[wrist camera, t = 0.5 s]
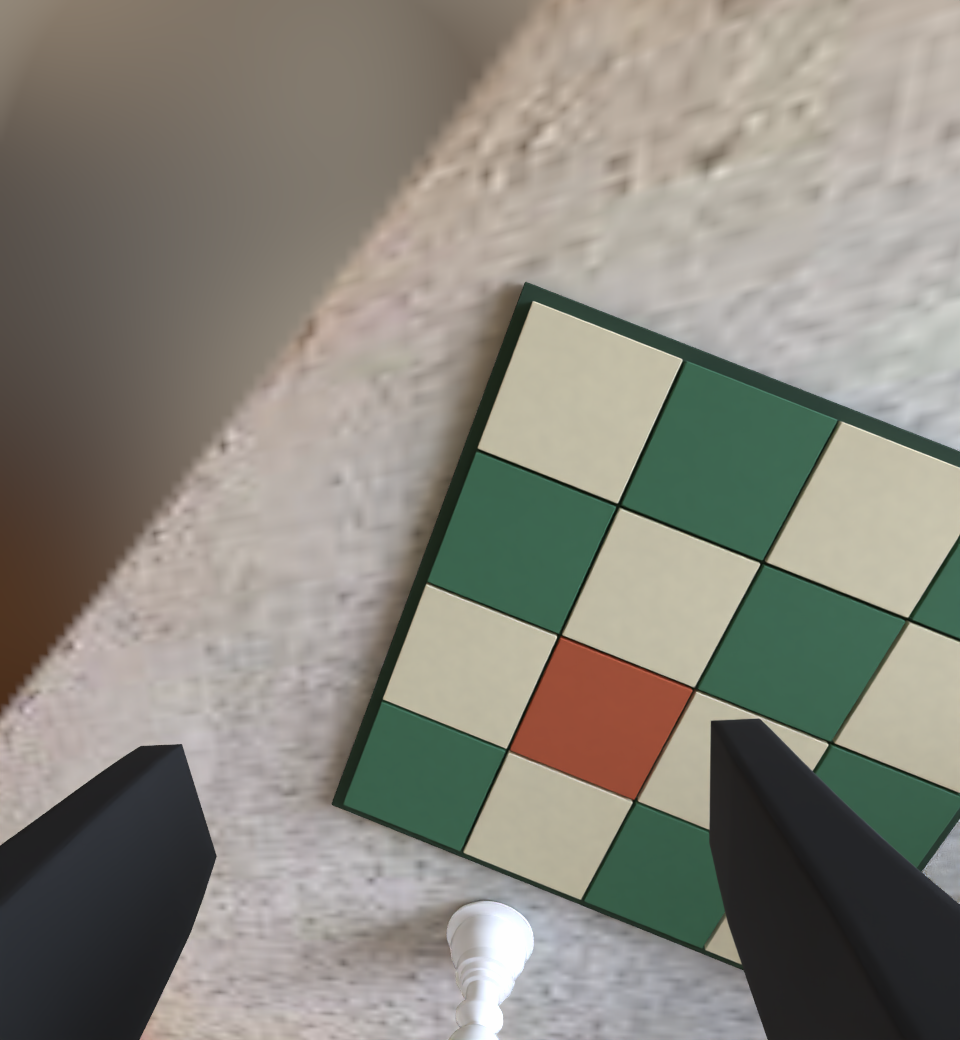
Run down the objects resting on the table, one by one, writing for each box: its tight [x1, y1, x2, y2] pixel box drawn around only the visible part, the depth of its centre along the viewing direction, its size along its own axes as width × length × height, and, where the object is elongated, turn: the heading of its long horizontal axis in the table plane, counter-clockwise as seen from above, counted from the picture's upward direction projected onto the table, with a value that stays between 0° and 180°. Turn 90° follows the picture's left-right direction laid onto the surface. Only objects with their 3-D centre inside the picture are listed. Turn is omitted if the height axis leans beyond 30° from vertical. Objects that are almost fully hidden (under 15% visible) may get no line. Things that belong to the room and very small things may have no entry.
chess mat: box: [332, 282, 960, 970], centre depth 20 cm, size 17×17×1 cm
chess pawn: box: [446, 901, 534, 1040], centre depth 21 cm, size 3×3×5 cm
